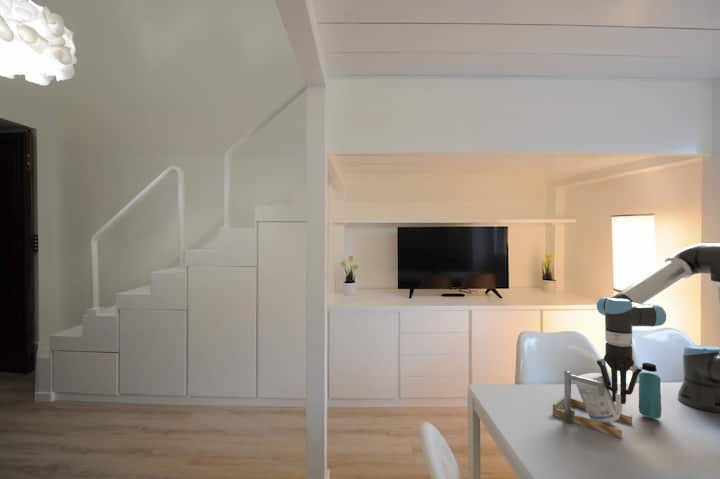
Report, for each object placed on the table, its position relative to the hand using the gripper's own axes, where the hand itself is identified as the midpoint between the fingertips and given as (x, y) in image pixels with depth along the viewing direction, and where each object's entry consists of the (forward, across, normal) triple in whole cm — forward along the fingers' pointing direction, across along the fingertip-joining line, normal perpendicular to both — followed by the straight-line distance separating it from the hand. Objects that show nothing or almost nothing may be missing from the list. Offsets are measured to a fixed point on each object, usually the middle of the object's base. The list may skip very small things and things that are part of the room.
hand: (619, 412), depth 122 cm
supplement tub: (+4, -4, 0) cm, 6 cm away
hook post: (+6, -9, -8) cm, 13 cm away
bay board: (+6, -8, +1) cm, 10 cm away
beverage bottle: (+6, +6, +17) cm, 19 cm away
